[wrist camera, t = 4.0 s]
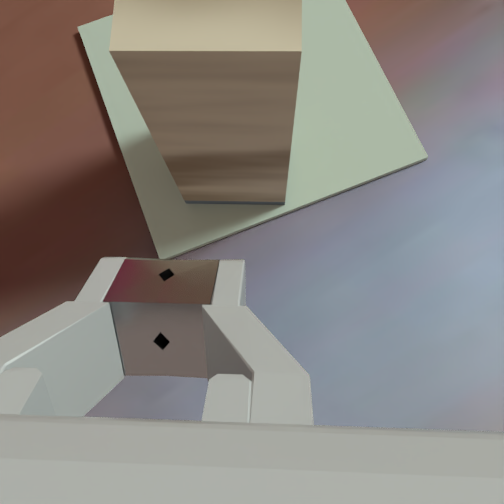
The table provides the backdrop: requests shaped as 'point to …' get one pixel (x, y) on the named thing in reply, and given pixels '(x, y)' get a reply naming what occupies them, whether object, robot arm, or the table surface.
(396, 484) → the robot arm
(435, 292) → the table surface
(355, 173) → the mat
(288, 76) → the block
